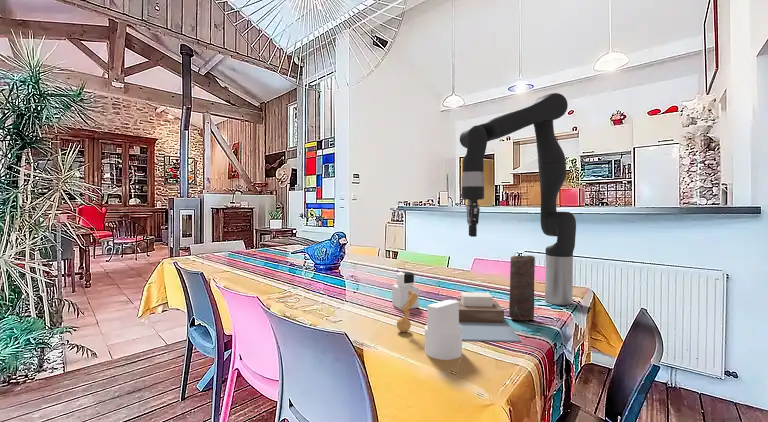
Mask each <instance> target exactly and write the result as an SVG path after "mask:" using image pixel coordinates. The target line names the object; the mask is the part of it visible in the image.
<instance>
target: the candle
mask: <svg viewBox="0 0 768 422" xmlns="http://www.w3.org/2000/svg"><path fill="white" fill-rule="evenodd" d="M535 259H536V257H535V256H534V255H518V256H517V255H513V256H510V269H509V270H510V271H509V273H510V274H509V301H508V303H509V305H508V306H509V307H508V315H509V317H510V318H511V319H513V320H514V321H531V320H534V319H535V267H536V263H535V262H536V260H535Z"/></svg>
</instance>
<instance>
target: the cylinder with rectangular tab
mask: <svg viewBox="0 0 768 422" xmlns="http://www.w3.org/2000/svg"><path fill="white" fill-rule="evenodd" d="M455 300H456V299H446V300H441V301H438V302H435V303H431V304H427V309H426V312H427V317H426V318H427V321H426V325H425V326H424V353H425V355H427V356H428V357H430V358H432V359H435V360H441V361H442V360H444V361H445V360H447V361H448V360H449V361H450V360H455V359H458V358H461V357H462V355H463V341H462V328H461V327H460V326H459V301H455Z"/></svg>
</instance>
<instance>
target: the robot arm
mask: <svg viewBox="0 0 768 422" xmlns="http://www.w3.org/2000/svg"><path fill="white" fill-rule="evenodd" d="M567 111H568V101H567V98H566V97H565V96H564V95H563V94H561V93H559V92H553V93H547V94H546V95H543V96H541V97H538V98H536V99H535V100H534V102H533V103H532V105H529V106H527V107H524V108H521V109H517V110H515V111H511V112H508V113H505V114H502V115H499V116H497V117H494V118H492V119H489V120H488V121H485V122H484V123H483V122H482V123H480V124H477V125H473V126H471V127H468V128H466V129H465V130H463V131H462V132H461V134H460V135H459V143H460V145H461V146H462V147H463V148H465V149H466V154H465V156H463V158H462V175H461V199H462V200H467V201H468V202H467V205H465V206H466V207H465V209H466V218H467V220H466V223H467V225H468V236H469V237H472V238H474V237H475V238H476V237H477V236H478V234H477V233H478V231H477V229H478V227H477V226H478V224H479V218H480V211H481V209H480V204H478V201H479V200H484V199H485V175H484V174H485V173H484V164H485V163H484V159H485V155H486V151H487V145H488V142H490V141H495V140H497V139H500V138H504V137H506V136H508V135H510V134H513V133H516V132H517V131H520V130H522V129H525V128H527V127H529V126H532V125H533V127H534V128H533V129H534V133H535V140H536V151H537V164H538V177H539V186H540V187H539V189H540V191H539V192H540V219H539V220H540V227H541V228H540V229H541V231H542V233H543V234H544V235H545V236H547V237H555V238H556V242H555V243H553V244H552V245H549V246H547V247H545V253H544V254H545V259H544V260H545V262H544V263H545V266H544V267H545V270H544V272H545V273H544V274H545V277H544V280H545V281H544V283H545V284H544V301H545V302H546V303H549V304H551V305H558V306H559V305H560V306H567V305H568V306H569V305H572V304H573V284H574V282H573V281H574V278H573V276H574V275H573V274H574V271H573V270H574V256H573V255H574V250H575V248H576V235H577V234H576V233H577V219H576V218H575V215H574V214H573V213H572V212H569V211H557V199H558V195H559V192H560V190H561V189H562V186H563V185H564V182H565V180H566V178H567V163H566V162H567V161H566V156H565V153H564V151H563V149H562V147H561V145H560V143H559V142H558V140H557V138H556V135H555V128H554V121H555V120H558V119H561V117H563V116H564V115H565V114H566V112H567Z"/></svg>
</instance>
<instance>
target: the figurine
mask: <svg viewBox="0 0 768 422" xmlns="http://www.w3.org/2000/svg"><path fill="white" fill-rule="evenodd" d="M408 294H409V297H408V301H407V302H406V304H405V305H404V306H403V308H402V309H401V310H400V311H401V312H403V313H404V314H405V316H404V317H400V318H399V319H398V320H397V322H396V328H397V330H398V331H399V332H401V333H407V332H409V331H410V330H411V326H412V323H411V321H410V320H409V317H410V313H411V311H410V310H411V309H412V308H411V307H412V306H413V304H415V301H416V299H417V294H416V293H413V292H412V291H410V290H409V291H408ZM408 302H409V304H408ZM407 304H408V305H407ZM406 305H407V306H406ZM405 306H406V307H405ZM404 307H405V308H404ZM410 308H411V309H410Z"/></svg>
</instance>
